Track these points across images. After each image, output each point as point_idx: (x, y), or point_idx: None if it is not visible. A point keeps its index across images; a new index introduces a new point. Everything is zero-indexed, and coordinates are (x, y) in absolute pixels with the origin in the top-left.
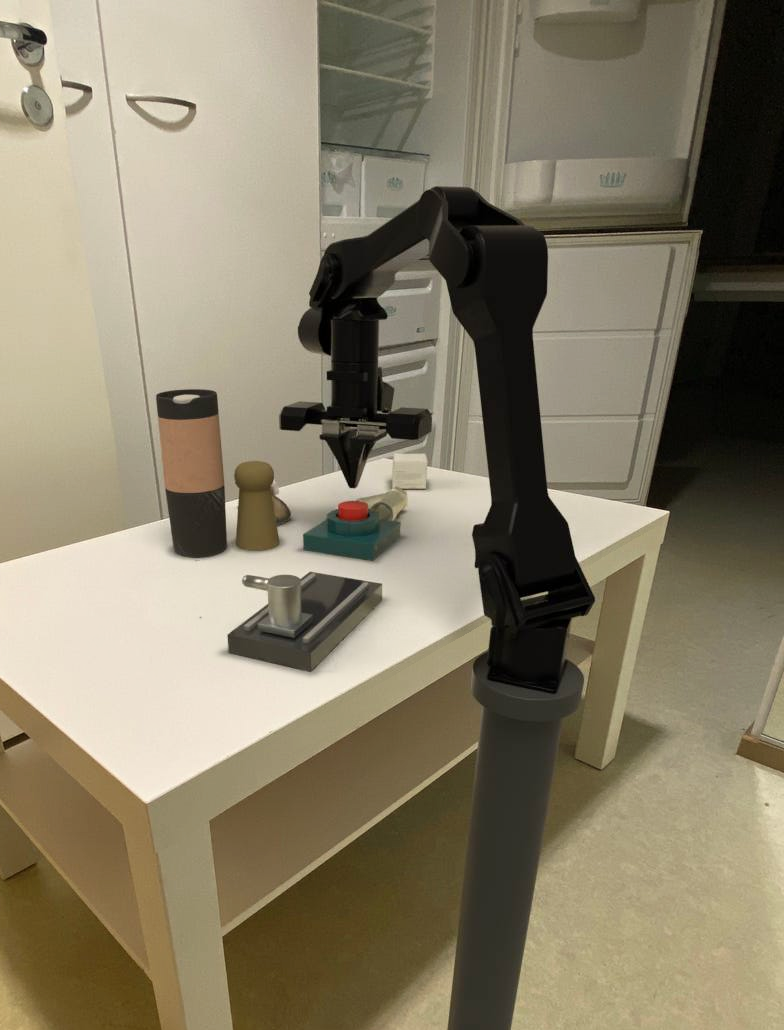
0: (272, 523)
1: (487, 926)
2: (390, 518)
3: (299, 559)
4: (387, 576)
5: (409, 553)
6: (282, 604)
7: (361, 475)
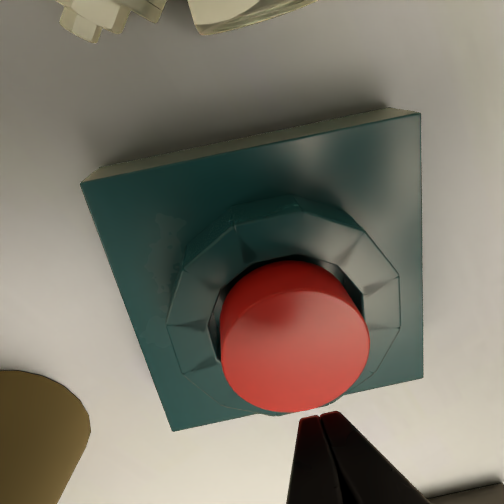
0: (53, 484)
1: None
2: (306, 2)
3: (217, 437)
4: (472, 396)
5: (476, 235)
6: None
7: (386, 460)
